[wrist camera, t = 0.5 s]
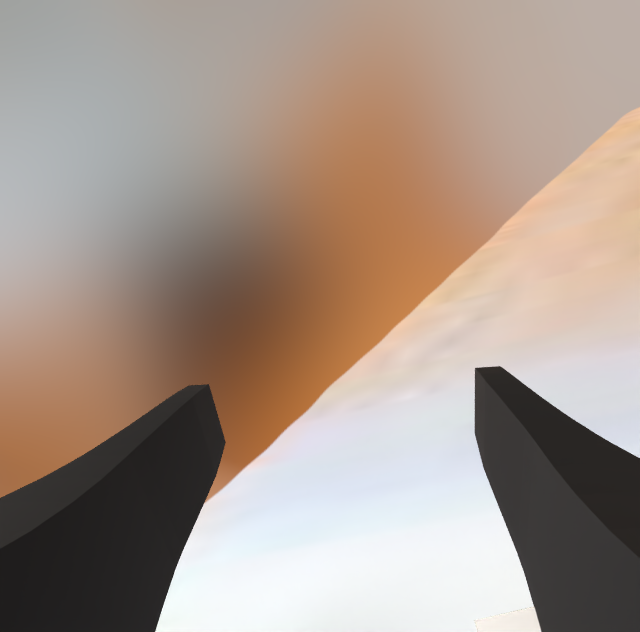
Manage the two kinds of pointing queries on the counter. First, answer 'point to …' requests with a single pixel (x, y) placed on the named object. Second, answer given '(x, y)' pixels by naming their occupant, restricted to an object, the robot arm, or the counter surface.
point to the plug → (510, 622)
